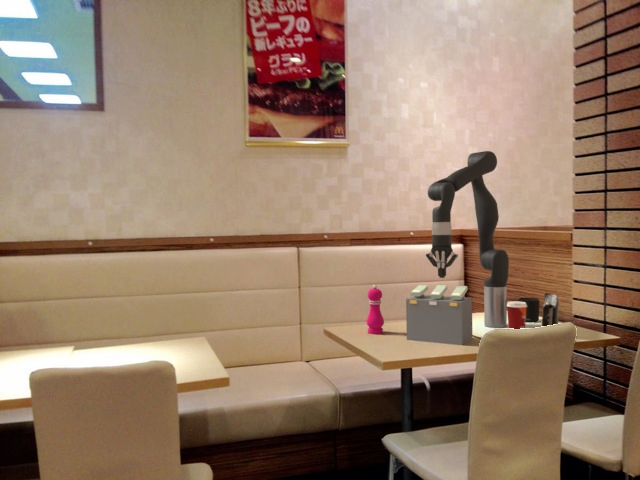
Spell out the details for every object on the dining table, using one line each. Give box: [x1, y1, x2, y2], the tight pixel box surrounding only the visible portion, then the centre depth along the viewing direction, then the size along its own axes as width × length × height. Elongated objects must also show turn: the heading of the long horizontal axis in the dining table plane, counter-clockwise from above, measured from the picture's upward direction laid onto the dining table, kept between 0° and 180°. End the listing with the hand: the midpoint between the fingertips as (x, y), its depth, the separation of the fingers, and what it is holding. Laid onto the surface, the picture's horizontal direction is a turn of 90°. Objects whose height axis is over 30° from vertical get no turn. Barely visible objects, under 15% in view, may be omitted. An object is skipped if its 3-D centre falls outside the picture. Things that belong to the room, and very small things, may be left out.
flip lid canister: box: [506, 301, 527, 329], centre depth 223 cm, size 8×8×14 cm
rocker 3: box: [449, 285, 468, 300], centre depth 220 cm, size 9×4×2 cm, turn 148°
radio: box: [540, 292, 559, 327], centre depth 233 cm, size 23×9×15 cm, turn 148°
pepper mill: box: [366, 284, 385, 335], centre depth 240 cm, size 7×7×20 cm
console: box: [405, 293, 473, 346], centre depth 225 cm, size 13×22×17 cm, turn 58°
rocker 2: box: [429, 284, 448, 299], centre depth 224 cm, size 9×4×2 cm, turn 149°
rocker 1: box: [410, 284, 429, 297], centre depth 229 cm, size 9×4×2 cm, turn 148°
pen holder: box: [517, 297, 541, 323], centre depth 260 cm, size 9×9×10 cm
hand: (442, 277), depth 227 cm, fingers closed
